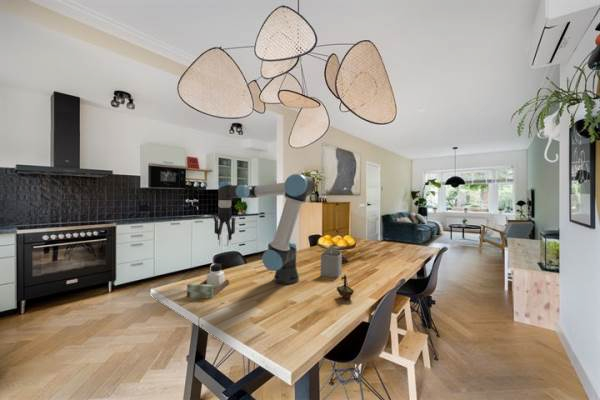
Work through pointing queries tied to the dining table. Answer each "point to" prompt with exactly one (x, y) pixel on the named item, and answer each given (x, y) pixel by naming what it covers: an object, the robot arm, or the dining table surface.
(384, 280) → the dining table surface
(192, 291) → the guide channel
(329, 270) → the grey box
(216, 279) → the medicine bottle
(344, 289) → the figurine
